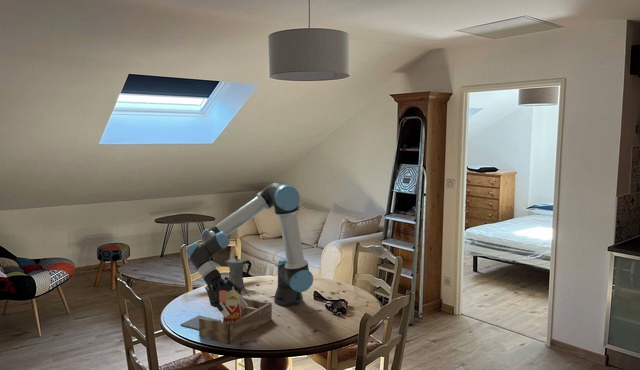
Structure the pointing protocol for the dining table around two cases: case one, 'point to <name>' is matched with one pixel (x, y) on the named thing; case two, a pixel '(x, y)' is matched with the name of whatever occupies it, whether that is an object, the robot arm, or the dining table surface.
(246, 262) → the coffeepot
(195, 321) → the mat
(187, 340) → the dining table surface
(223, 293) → the sugar bowl
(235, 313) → the milk carton
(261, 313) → the lane rack
